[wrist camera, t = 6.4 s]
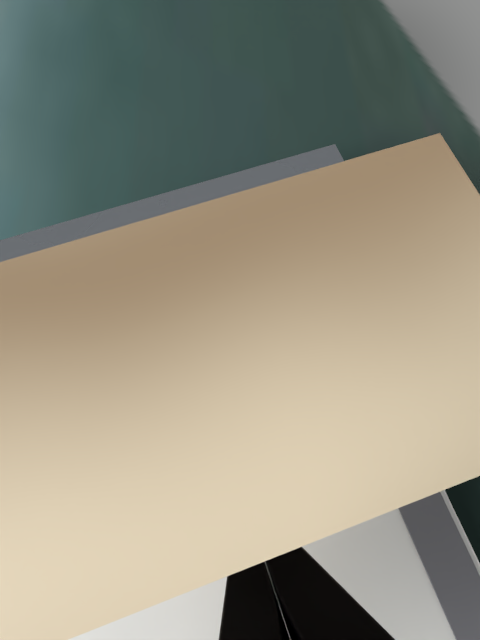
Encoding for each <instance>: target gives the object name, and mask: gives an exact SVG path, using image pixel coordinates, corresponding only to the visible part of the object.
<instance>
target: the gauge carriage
mask: <svg viewBox="0 0 480 640" xmlns="http://www.w3.org/2000/svg"><path fill="white" fill-rule="evenodd" d="M478 476H480V195H479V193H478V192H477V190H476V188H475V187H474V185H473V184H472V182H471V181H470V179H469V178H468V176H467V174H466V173H465V171H464V170H463V168H462V167H461V165H460V164H459V162H458V161H457V159H456V157H455V156H454V154H453V153H452V151H451V150H450V148H449V147H448V145H447V143H446V142H445V140H444V139H443V137H442V136H441V134H440V133H439V134H435V135H432V136H429V137H425V138H422V139H418V140H415V141H412V142H408V143H405V144H401V145H398V146H394V147H391V148H388V149H384V150H381V151H377V152H374V153H371V154H367V155H364V156H360V157H357V158H354V159H350V160H347V161H343V162H340V163H337V164H333V165H330V166H326V167H323V168H319V169H316V170H313V171H309V172H306V173H302V174H299V175H296V176H292V177H289V178H285V179H282V180H279V181H275V182H272V183H268V184H265V185H262V186H258V187H255V188H251V189H248V190H244V191H241V192H238V193H234V194H231V195H227V196H224V197H221V198H217V199H214V200H210V201H207V202H204V203H200V204H197V205H193V206H190V207H187V208H183V209H180V210H176V211H173V212H169V213H166V214H163V215H159V216H156V217H152V218H149V219H146V220H142V221H139V222H135V223H132V224H129V225H125V226H122V227H118V228H115V229H112V230H108V231H105V232H101V233H98V234H94V235H91V236H88V237H84V238H81V239H77V240H74V241H71V242H67V243H64V244H60V245H57V246H54V247H50V248H47V249H43V250H40V251H37V252H33V253H30V254H26V255H23V256H19V257H16V258H13V259H9V260H6V261H2V262H0V640H68V639H71V638H73V637H76V636H79V635H81V634H84V633H86V632H89V631H91V630H94V629H96V628H99V627H101V626H104V625H106V624H109V623H111V622H114V621H116V620H119V619H121V618H124V617H126V616H129V615H131V614H134V613H136V612H139V611H141V610H144V609H146V608H149V607H151V606H154V605H156V604H159V603H161V602H164V601H166V600H169V599H171V598H174V597H176V596H179V595H182V594H184V593H187V592H189V591H192V590H194V589H197V588H199V587H202V586H204V585H207V584H209V583H212V582H214V581H217V580H219V579H222V578H224V577H227V576H229V575H232V574H234V573H237V572H239V571H242V570H244V569H247V568H249V567H252V566H254V565H257V564H259V563H262V562H264V561H267V560H269V559H272V558H274V557H277V556H279V555H282V554H284V553H287V552H290V551H292V550H295V549H297V548H300V547H302V546H305V545H307V544H310V543H312V542H315V541H317V540H320V539H322V538H325V537H327V536H330V535H332V534H335V533H337V532H340V531H342V530H345V529H347V528H350V527H352V526H355V525H357V524H360V523H362V522H365V521H367V520H370V519H372V518H375V517H377V516H380V515H382V514H385V513H387V512H390V511H393V510H395V509H398V508H400V507H403V506H405V505H408V504H410V503H413V502H415V501H418V500H420V499H423V498H425V497H428V496H430V495H433V494H435V493H438V492H440V491H443V490H445V489H448V488H450V487H453V486H455V485H458V484H460V483H463V482H465V481H468V480H470V479H473V478H475V477H478Z"/></svg>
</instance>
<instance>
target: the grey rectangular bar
mask: <svg viewBox="0 0 480 640" xmlns="http://www.w3.org/2000/svg"><path fill="white" fill-rule="evenodd" d="M343 161H344V160H343V158H342V156H341V154H340V153H339V151H338V149H337V147H336V145H335V144H334V145H330V146H327V147H323V148H320V149H316V150H313V151H309V152H306V153H302V154H299V155H296V156H292V157H289V158H285V159H282V160H278V161H275V162H271V163H268V164H264V165H261V166H257V167H254V168H250V169H247V170H243V171H240V172H236V173H233V174H229V175H226V176H223V177H219V178H216V179H212V180H209V181H205V182H202V183H198V184H195V185H191V186H188V187H184V188H181V189H177V190H174V191H170V192H167V193H163V194H160V195H156V196H153V197H150V198H146V199H143V200H139V201H136V202H132V203H129V204H125V205H122V206H118V207H115V208H111V209H108V210H104V211H101V212H97V213H94V214H90V215H87V216H83V217H80V218H77V219H73V220H70V221H66V222H63V223H59V224H56V225H52V226H49V227H45V228H42V229H38V230H35V231H31V232H28V233H24V234H21V235H17V236H14V237H11V238H7V239H4V240H0V262H2V261H6V260H9V259H13V258H16V257H19V256H23V255H26V254H30V253H33V252H37V251H40V250H43V249H47V248H50V247H54V246H57V245H60V244H64V243H67V242H71V241H74V240H77V239H81V238H84V237H88V236H91V235H94V234H98V233H101V232H105V231H108V230H112V229H115V228H118V227H122V226H125V225H129V224H132V223H135V222H139V221H142V220H146V219H149V218H152V217H156V216H159V215H163V214H166V213H169V212H173V211H176V210H180V209H183V208H187V207H190V206H193V205H197V204H200V203H204V202H207V201H210V200H214V199H217V198H221V197H224V196H227V195H231V194H234V193H238V192H241V191H244V190H248V189H251V188H255V187H258V186H262V185H265V184H268V183H272V182H275V181H279V180H282V179H285V178H289V177H292V176H296V175H299V174H302V173H306V172H309V171H313V170H316V169H319V168H323V167H326V166H330V165H333V164H337V163H340V162H343Z"/></svg>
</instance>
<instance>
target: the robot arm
mask: <svg viewBox="0 0 480 640" xmlns="http://www.w3.org/2000/svg"><path fill="white" fill-rule="evenodd" d="M265 563H266V564H265ZM266 566H267V567H266ZM267 569H268V570H267ZM281 612H282V613H281ZM282 615H283V616H282ZM283 618H284V619H283ZM284 621H285V622H284ZM285 624H286V625H285ZM286 627H287V628H286ZM287 630H288V631H287ZM288 633H289V634H288ZM289 636H290V637H289ZM290 639H291V640H395V639H394V638H393V637H392V636H391V635H390V634H389V633H388V632H387V631H386V630H385V629H384V628H383V627H382V626H381V625H380V624H379V623H378V622H377V621H376V620H375V619H374V618H373V617H372V616H371V615H370V614H369V613H368V612H367V611H366V610H365V609H364V608H363V607H362V606H361V605H360V604H359V603H358V602H357V601H356V600H355V599H354V598H353V597H352V596H351V595H350V594H349V593H348V592H347V591H346V590H345V589H344V588H343V587H342V586H341V585H340V584H339V583H338V582H337V581H336V580H335V579H334V578H333V577H332V576H331V575H330V574H329V573H328V572H327V571H326V570H325V569H324V568H323V567H322V566H321V565H320V564H319V563H318V562H317V561H316V560H315V559H314V558H313V557H312V556H311V555H310V554H309V553H308V552H307V551H306V550H305V549H304V548H303V547H300V548H297V549H295V550H292V551H290V552H287V553H284V554H282V555H279V556H277V557H274V558H272V559H269V560H267V561H264V562H262V563H259V564H257V565H254V566H252V567H249V568H247V569H244V570H242V571H239V572H237V573H234V574H232V575H229V576H227V581H226V588H225V596H224V603H223V611H222V618H221V626H220V633H219V640H290Z"/></svg>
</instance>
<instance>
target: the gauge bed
mask: <svg viewBox="0 0 480 640" xmlns="http://www.w3.org/2000/svg"><path fill="white" fill-rule="evenodd" d="M302 547H303V548H304V549H305V550H306V551H307V552H308V553H309V554H310V555H311V556H312V557H313V558H314V559H315V560H316V561H317V562H318V563H319V564H320V565H321V566H322V567H323V568H324V569H325V570H326V571H327V572H328V573H329V574H330V575H331V576H332V577H333V578H334V579H335V580H336V581H337V582H338V583H339V584H340V585H341V586H342V587H343V588H344V589H345V590H346V591H347V592H348V593H349V594H350V595H351V596H352V597H353V598H354V599H355V600H356V601H357V602H358V603H359V604H360V605H361V606H362V607H363V608H364V609H365V610H366V611H367V612H368V613H369V614H370V615H371V616H372V617H373V618H374V619H375V620H376V621H377V622H378V623H379V624H380V625H381V626H382V627H383V628H384V629H385V630H386V631H387V632H388V633H389V634H390V635H391V636H392V637H393V638H394V639H395V640H480V563H479V561H478V559H477V557H476V555H475V552H474V550H473V548H472V546H471V544H470V542H469V540H468V538H467V536H466V534H465V532H464V529H463V527H462V525H461V523H460V521H459V519H458V517H457V515H456V513H455V511H454V509H453V506H452V504H451V502H450V500H449V498H448V496H447V494H446V492H445V490H443V491H440V492H438V493H435V494H433V495H430V496H428V497H425V498H423V499H420V500H418V501H415V502H413V503H410V504H408V505H405V506H403V507H400V508H398V509H395V510H393V511H390V512H387V513H385V514H382V515H380V516H377V517H375V518H372V519H370V520H367V521H365V522H362V523H360V524H357V525H355V526H352V527H350V528H347V529H345V530H342V531H340V532H337V533H335V534H332V535H330V536H327V537H325V538H322V539H320V540H317V541H315V542H312V543H310V544H307V545H305V546H302ZM265 564H266V563H265ZM266 567H267V566H266ZM267 570H268V569H267ZM226 581H227V577H224V578H222V579H219V580H217V581H214V582H212V583H209V584H207V585H204V586H202V587H199V588H197V589H194V590H192V591H189V592H187V593H184V594H182V595H179V596H176V597H174V598H171V599H169V600H166V601H164V602H161V603H159V604H156V605H154V606H151V607H149V608H146V609H144V610H141V611H139V612H136V613H134V614H131V615H129V616H126V617H124V618H121V619H119V620H116V621H114V622H111V623H109V624H106V625H104V626H101V627H99V628H96V629H94V630H91V631H89V632H86V633H84V634H81V635H79V636H76V637H73V638H71V639H68V640H219V633H220V626H221V618H222V611H223V603H224V596H225V588H226ZM281 613H282V612H281ZM282 616H283V615H282ZM283 619H284V618H283ZM284 622H285V621H284ZM285 625H286V624H285ZM286 628H287V627H286ZM287 631H288V630H287ZM288 634H289V633H288ZM289 637H290V636H289ZM290 640H291V639H290Z"/></svg>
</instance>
